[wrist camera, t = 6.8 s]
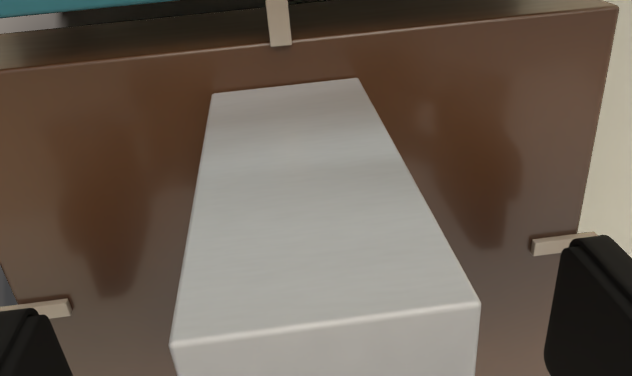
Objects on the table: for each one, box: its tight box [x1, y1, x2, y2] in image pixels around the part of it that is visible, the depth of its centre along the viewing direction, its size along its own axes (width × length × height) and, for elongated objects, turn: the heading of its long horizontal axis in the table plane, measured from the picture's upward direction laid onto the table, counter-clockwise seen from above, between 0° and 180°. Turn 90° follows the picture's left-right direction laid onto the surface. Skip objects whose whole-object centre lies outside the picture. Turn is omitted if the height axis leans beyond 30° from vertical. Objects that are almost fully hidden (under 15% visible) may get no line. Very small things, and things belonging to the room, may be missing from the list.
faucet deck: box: [0, 0, 619, 376], centre depth 13 cm, size 13×13×3 cm
